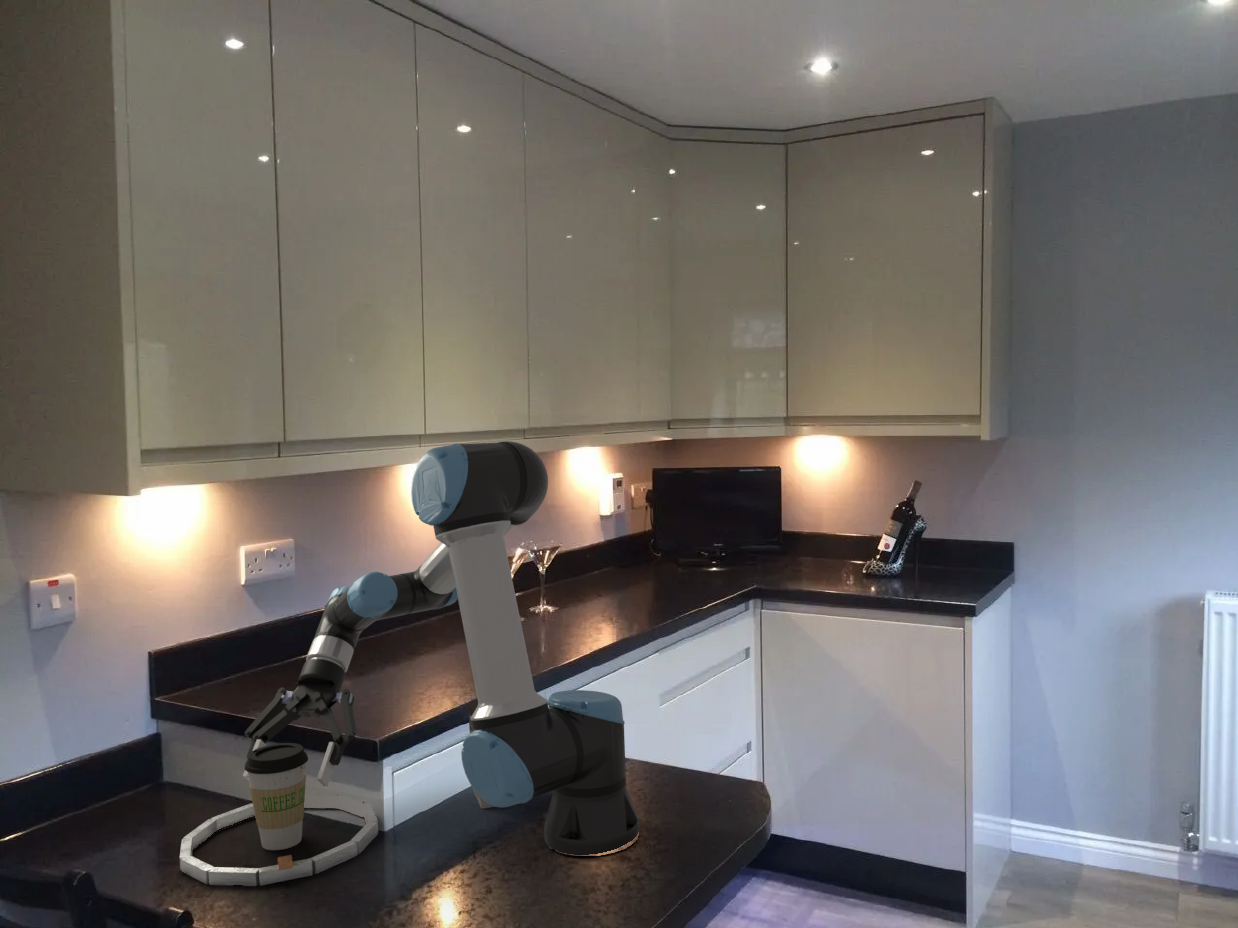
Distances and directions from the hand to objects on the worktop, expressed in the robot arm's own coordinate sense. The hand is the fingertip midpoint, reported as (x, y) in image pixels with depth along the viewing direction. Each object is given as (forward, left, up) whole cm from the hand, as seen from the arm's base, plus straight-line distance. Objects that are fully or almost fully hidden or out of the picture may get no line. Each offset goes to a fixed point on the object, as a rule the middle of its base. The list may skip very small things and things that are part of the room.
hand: (284, 781), depth 165 cm
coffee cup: (-2, +1, -9) cm, 10 cm away
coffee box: (0, -35, -9) cm, 36 cm away
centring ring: (-2, +1, -9) cm, 9 cm away
